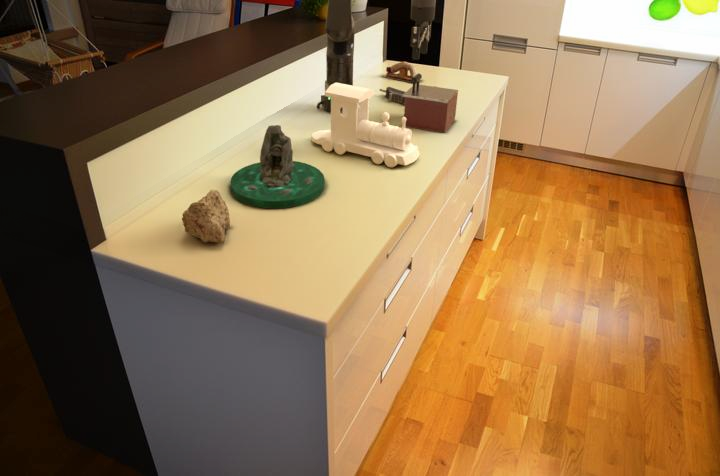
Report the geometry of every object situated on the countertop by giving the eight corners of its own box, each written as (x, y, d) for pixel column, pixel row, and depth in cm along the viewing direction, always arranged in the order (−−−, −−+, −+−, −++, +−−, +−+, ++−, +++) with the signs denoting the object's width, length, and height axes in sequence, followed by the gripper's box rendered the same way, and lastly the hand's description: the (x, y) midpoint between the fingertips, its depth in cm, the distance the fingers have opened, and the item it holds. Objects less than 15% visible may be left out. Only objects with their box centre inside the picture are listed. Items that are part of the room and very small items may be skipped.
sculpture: (388, 73, 255) (389, 56, 251) (423, 80, 248) (424, 62, 244) (381, 77, 250) (382, 60, 246) (415, 84, 243) (417, 66, 239)
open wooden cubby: (403, 126, 201) (405, 97, 196) (415, 114, 211) (417, 86, 206) (444, 132, 197) (447, 103, 192) (454, 120, 207) (457, 92, 202)
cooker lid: (402, 96, 196) (404, 79, 193) (415, 86, 207) (416, 69, 204) (447, 103, 192) (449, 85, 189) (457, 92, 202) (459, 75, 199)
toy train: (405, 171, 170) (410, 106, 160) (302, 145, 184) (301, 84, 174) (423, 157, 179) (429, 94, 169) (324, 133, 193) (324, 74, 184)
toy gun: (463, 110, 218) (437, 119, 208) (397, 89, 236) (371, 96, 227) (464, 100, 216) (438, 109, 207) (398, 80, 234) (371, 87, 225)
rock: (167, 214, 132) (199, 198, 128) (198, 195, 143) (228, 179, 139) (193, 256, 135) (225, 242, 130) (221, 234, 146) (252, 220, 141)
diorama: (217, 203, 150) (211, 147, 143) (247, 163, 172) (243, 113, 164) (313, 212, 148) (312, 155, 140) (332, 170, 169) (332, 119, 161)
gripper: (418, -1, 194) (415, 50, 202) (404, 6, 183) (401, 60, 191) (441, 1, 192) (436, 53, 200) (428, 8, 180) (424, 63, 189)
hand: (419, 56), depth 196 cm, fingers open, 8 cm apart
